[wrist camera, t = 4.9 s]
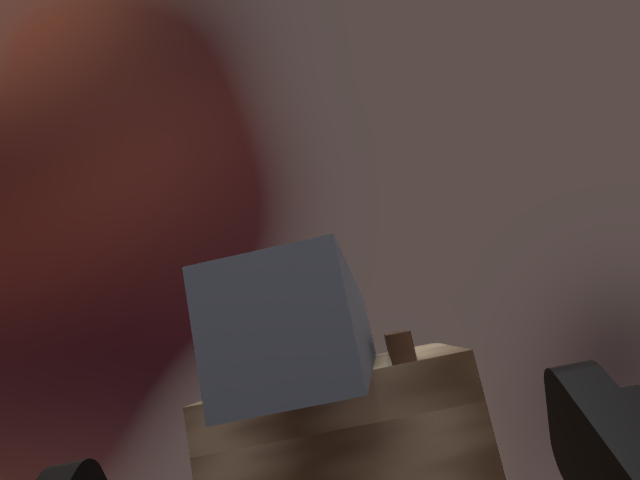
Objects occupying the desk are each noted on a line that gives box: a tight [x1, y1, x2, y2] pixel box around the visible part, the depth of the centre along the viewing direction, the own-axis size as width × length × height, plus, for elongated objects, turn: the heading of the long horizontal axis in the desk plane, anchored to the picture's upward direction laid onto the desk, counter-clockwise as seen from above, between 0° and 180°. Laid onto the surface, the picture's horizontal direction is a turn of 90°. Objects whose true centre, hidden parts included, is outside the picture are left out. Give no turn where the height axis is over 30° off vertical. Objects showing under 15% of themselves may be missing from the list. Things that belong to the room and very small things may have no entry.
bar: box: [182, 234, 376, 427], centre depth 23 cm, size 4×22×4 cm, turn 173°
